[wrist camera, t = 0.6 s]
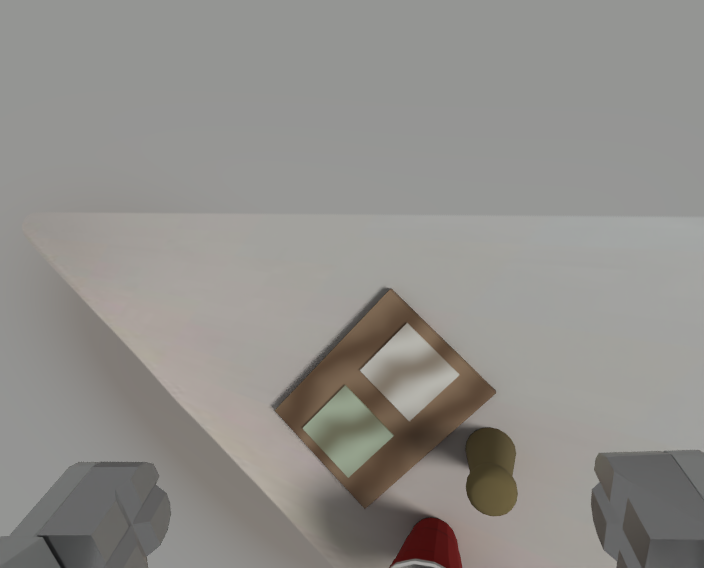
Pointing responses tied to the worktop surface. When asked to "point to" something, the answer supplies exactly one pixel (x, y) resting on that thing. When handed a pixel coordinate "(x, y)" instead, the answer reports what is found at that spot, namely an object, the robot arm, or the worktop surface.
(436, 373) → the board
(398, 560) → the plastic cup
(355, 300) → the worktop surface
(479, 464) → the cork
